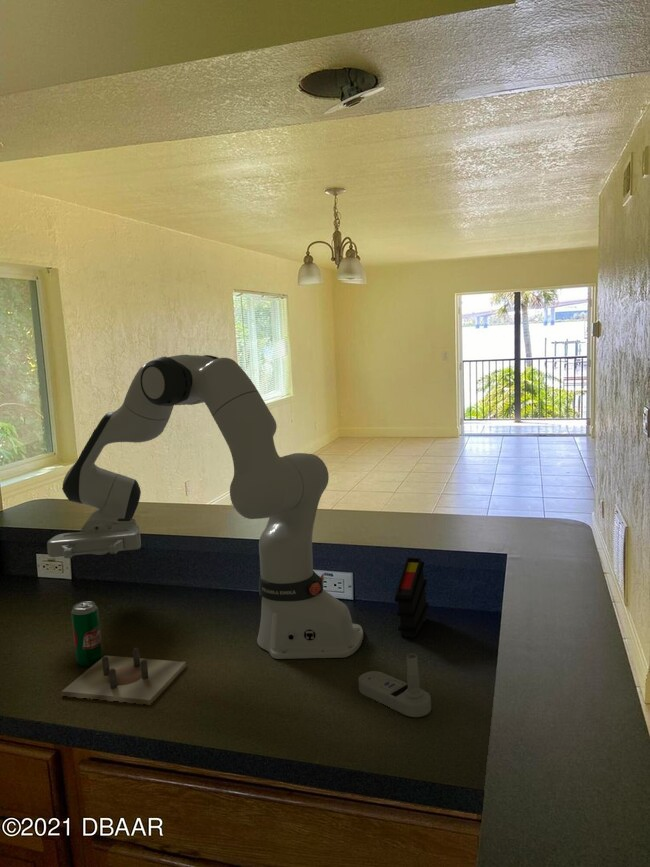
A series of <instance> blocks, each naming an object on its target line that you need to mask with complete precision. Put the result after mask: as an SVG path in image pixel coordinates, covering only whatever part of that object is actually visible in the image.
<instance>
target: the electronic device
mask: <svg viewBox="0 0 650 867" xmlns="http://www.w3.org/2000/svg"><path fill="white" fill-rule="evenodd" d="M418 664H419V662H418V655H417V654H416V653H413V652H411V653H407V654H406V669H407V673H406V681H407V682H405V681H402V680H401V679H398V678H396V677H394V676H391V675H389V674H387V673H384V672H382V671H377V670H371V671H366V672H364V673H362V674H360V675H359V676H358V681H357V682H358V691H359V692H360V693H361V694H362V695H363V696H366V697H367V698H369V697H370V698H369V699H371V698H372V699H371V700H373V699H374V700H373V701H375V700H376V701H375V702H377V701H378V702H377V703H379V704H381V703H382V705H383V704H384V705H383V706H385V705H386V707H387V706H388V708H389V707H390V708H389V709H392V710H394V711H396V712H398V713H400V714H402V715H403V716H407V717H409V718H421V717H424V716H426V715H428V714H430V712H431V711H432V700H431V699H432V698H431V695H430V693H429V692H428V691H426V690H424V689H422V688H420V686H421V685H420V684H421V682H420V681H421V680H420V673H419V666H418Z"/></svg>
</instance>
